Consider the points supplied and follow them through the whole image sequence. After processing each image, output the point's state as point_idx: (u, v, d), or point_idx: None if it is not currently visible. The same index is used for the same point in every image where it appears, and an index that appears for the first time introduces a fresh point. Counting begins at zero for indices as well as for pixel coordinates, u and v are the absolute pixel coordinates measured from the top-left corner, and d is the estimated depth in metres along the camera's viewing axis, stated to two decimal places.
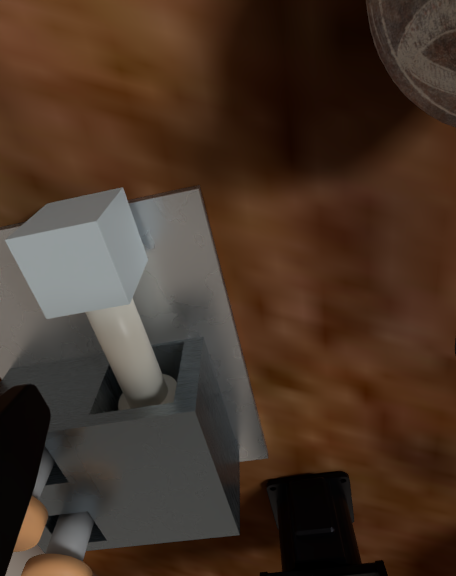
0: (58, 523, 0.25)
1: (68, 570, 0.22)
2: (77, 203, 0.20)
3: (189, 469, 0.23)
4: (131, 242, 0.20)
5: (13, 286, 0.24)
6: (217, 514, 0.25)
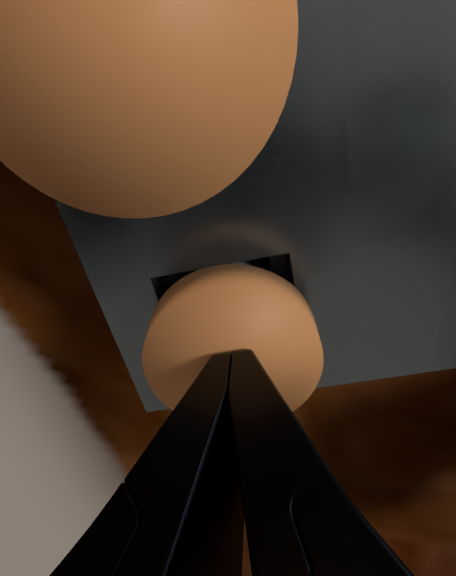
0: None
1: (287, 294, 0.08)
2: None
3: None
4: None
5: None
6: None
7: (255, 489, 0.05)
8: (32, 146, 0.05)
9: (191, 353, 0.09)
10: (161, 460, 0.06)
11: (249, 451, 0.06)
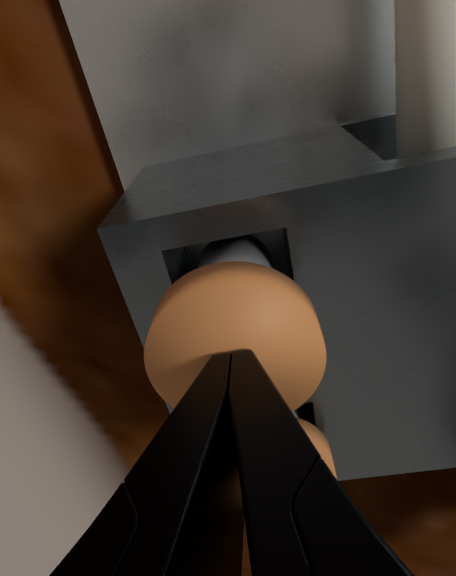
0: None
1: (313, 440, 0.12)
2: None
3: None
4: None
5: None
6: None
7: (255, 489, 0.05)
8: None
9: None
10: (161, 460, 0.06)
11: (249, 451, 0.06)
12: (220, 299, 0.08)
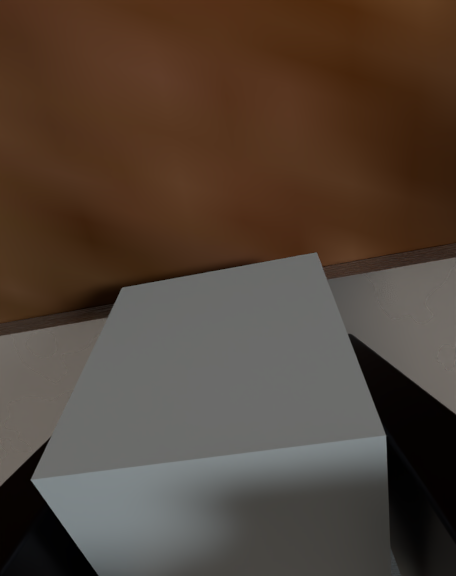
0: None
1: None
2: (215, 300, 0.07)
3: None
4: None
5: (31, 434, 0.12)
6: None
7: (427, 470, 0.05)
8: None
9: None
10: (29, 477, 0.06)
11: (400, 432, 0.05)
12: None
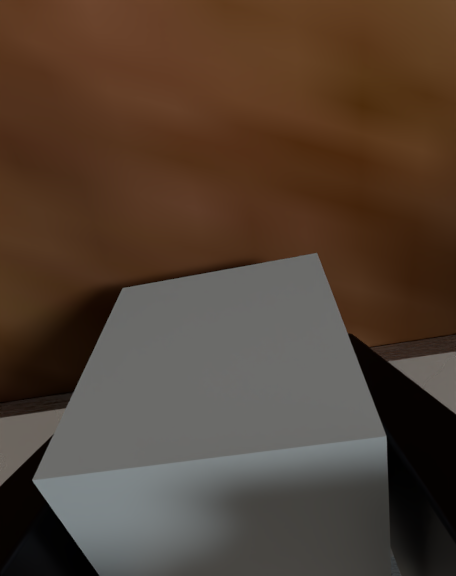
0: None
1: None
2: (216, 301, 0.07)
3: None
4: None
5: None
6: None
7: (427, 470, 0.05)
8: None
9: None
10: (29, 477, 0.06)
11: (400, 432, 0.05)
12: None
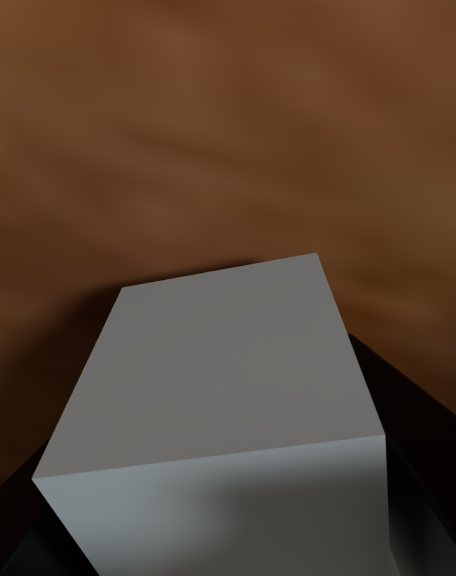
0: None
1: None
2: (215, 300, 0.07)
3: None
4: None
5: None
6: None
7: (426, 470, 0.05)
8: None
9: None
10: (30, 476, 0.06)
11: (400, 433, 0.05)
12: None
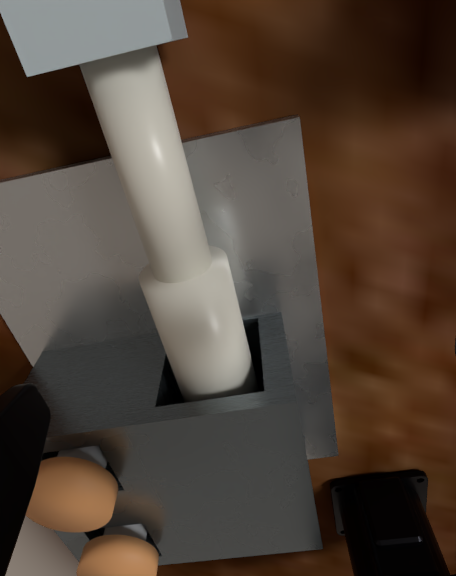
0: None
1: (136, 553, 0.20)
2: None
3: (276, 473, 0.18)
4: None
5: (51, 249, 0.19)
6: (300, 526, 0.21)
7: None
8: (46, 521, 0.18)
9: (97, 573, 0.20)
10: None
11: None
12: (50, 483, 0.16)
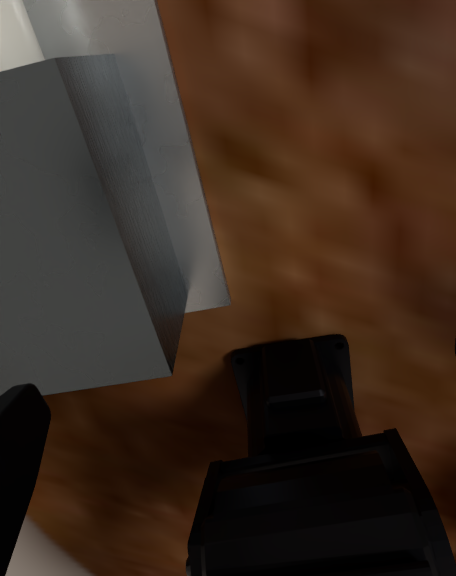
0: None
1: None
2: None
3: (68, 221, 0.13)
4: None
5: None
6: (130, 330, 0.15)
7: None
8: None
9: None
10: None
11: None
12: None
